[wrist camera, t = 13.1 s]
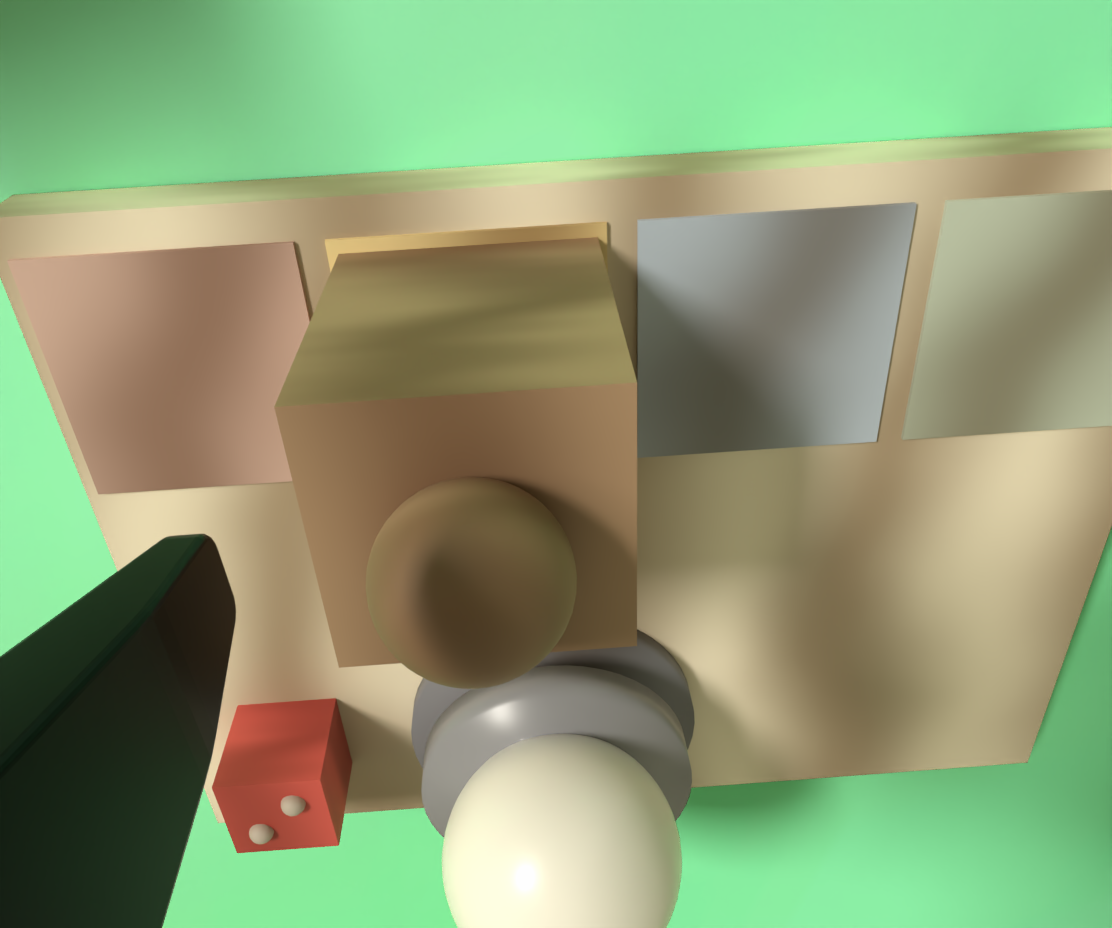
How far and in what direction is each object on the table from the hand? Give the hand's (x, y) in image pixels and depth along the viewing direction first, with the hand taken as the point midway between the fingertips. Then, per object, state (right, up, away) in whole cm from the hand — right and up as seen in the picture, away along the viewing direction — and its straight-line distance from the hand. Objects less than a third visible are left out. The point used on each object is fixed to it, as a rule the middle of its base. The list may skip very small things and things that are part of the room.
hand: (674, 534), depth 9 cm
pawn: (-3, +3, +10) cm, 11 cm away
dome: (-1, -7, +15) cm, 16 cm away
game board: (0, -1, +14) cm, 14 cm away
